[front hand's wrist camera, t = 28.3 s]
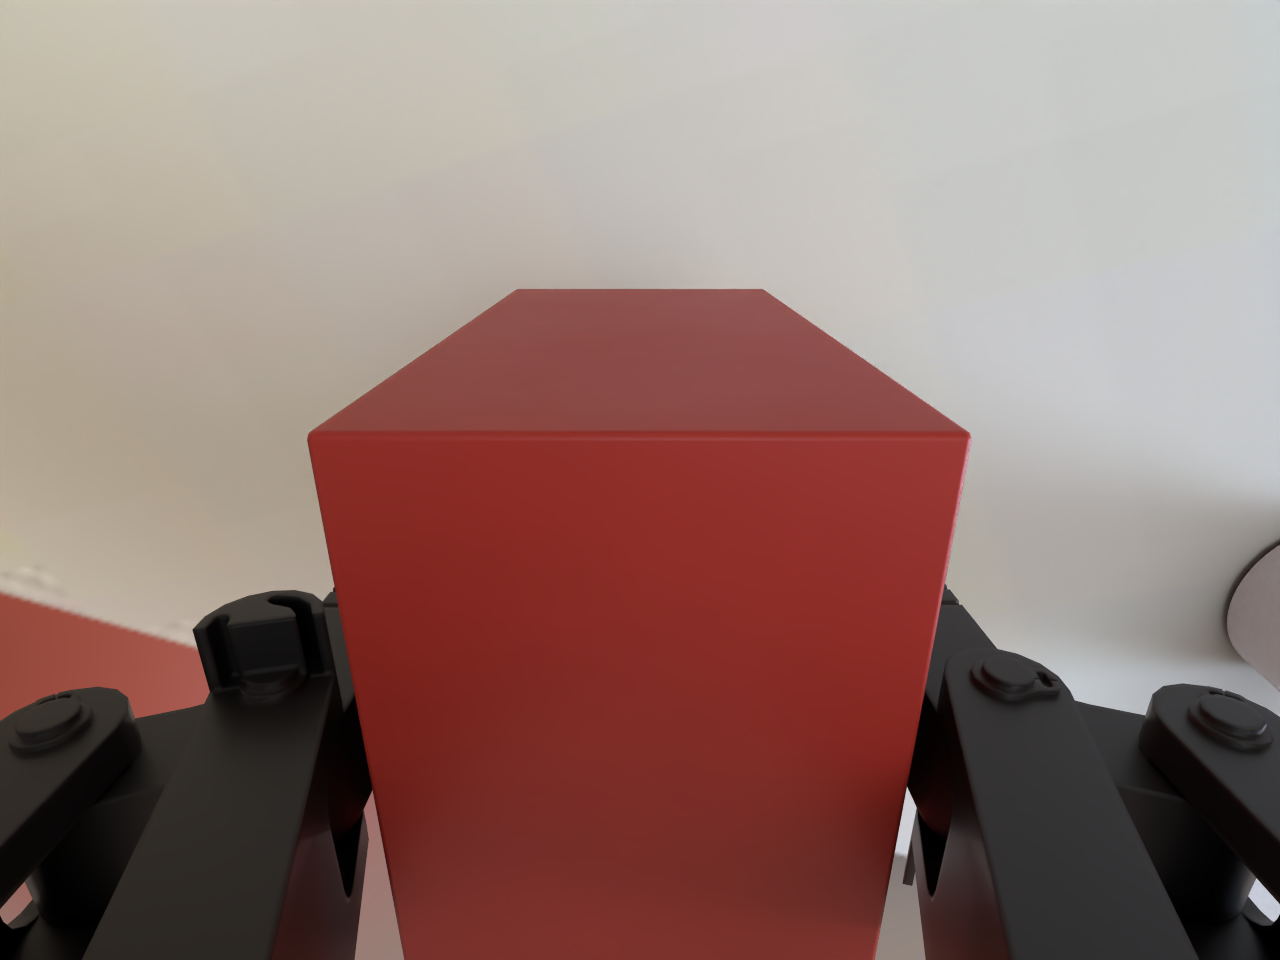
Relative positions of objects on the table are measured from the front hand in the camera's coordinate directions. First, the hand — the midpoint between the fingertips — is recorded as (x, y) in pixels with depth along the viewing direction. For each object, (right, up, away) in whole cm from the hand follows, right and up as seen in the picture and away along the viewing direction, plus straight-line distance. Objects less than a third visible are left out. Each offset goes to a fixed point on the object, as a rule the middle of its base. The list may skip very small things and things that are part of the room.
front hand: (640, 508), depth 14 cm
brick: (0, 0, +1) cm, 1 cm away
